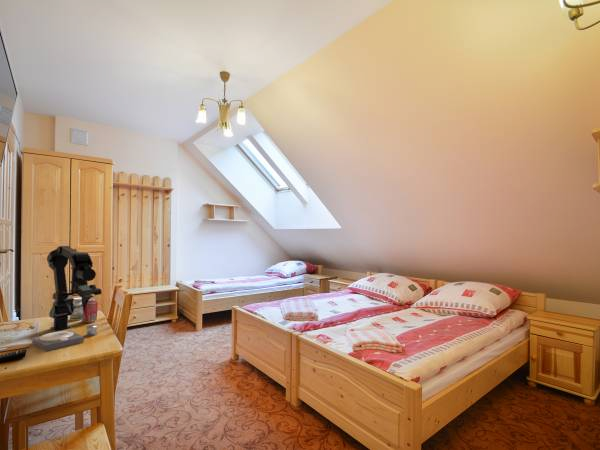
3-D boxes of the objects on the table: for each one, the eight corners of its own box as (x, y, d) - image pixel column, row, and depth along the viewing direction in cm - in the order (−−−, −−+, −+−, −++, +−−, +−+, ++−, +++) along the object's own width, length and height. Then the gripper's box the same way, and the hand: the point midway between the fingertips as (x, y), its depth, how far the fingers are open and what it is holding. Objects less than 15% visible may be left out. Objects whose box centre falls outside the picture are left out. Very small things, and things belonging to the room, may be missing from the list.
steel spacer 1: (69, 314, 148) (70, 305, 148) (80, 312, 152) (80, 304, 152) (74, 315, 146) (74, 307, 146) (84, 313, 150) (85, 305, 150)
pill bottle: (76, 321, 171) (77, 300, 171) (66, 320, 172) (67, 299, 173) (86, 318, 177) (87, 297, 178) (77, 317, 179) (78, 296, 179)
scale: (31, 343, 136) (32, 336, 136) (69, 335, 148) (69, 329, 148) (45, 351, 128) (45, 344, 128) (83, 342, 140) (83, 335, 140)
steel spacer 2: (84, 334, 150) (85, 326, 150) (95, 332, 153) (95, 324, 153) (88, 336, 147) (88, 328, 147) (98, 334, 151) (99, 326, 151)
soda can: (86, 319, 174) (87, 298, 175) (99, 319, 175) (100, 298, 175) (78, 323, 167) (79, 300, 168) (92, 323, 168) (93, 301, 168)
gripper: (64, 283, 137) (62, 318, 137) (108, 278, 153) (106, 310, 153) (52, 280, 143) (51, 314, 143) (96, 276, 159) (95, 307, 159)
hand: (77, 311), depth 149 cm, fingers closed on steel spacer 1, 4 cm apart
